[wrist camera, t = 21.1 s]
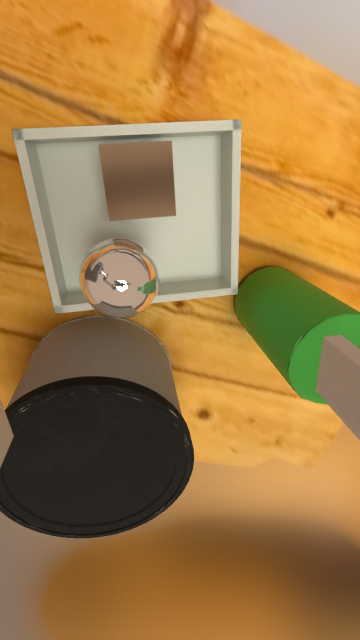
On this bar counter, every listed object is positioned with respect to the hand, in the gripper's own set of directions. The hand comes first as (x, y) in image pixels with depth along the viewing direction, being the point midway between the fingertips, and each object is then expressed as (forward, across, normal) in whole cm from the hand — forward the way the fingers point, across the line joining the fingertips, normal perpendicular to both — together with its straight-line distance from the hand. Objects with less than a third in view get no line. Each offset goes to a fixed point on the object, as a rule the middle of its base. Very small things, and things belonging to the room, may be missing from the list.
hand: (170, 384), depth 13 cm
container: (+26, -7, -17) cm, 32 cm away
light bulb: (+26, -2, -1) cm, 26 cm away
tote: (+26, 0, +3) cm, 26 cm away
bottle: (+26, +15, -8) cm, 31 cm away
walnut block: (+26, 0, +7) cm, 27 cm away
